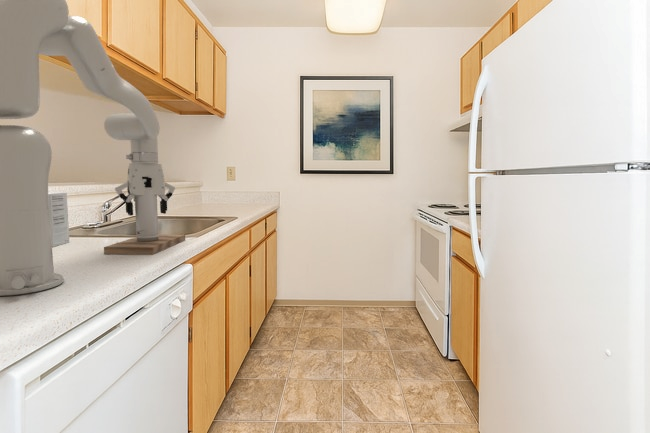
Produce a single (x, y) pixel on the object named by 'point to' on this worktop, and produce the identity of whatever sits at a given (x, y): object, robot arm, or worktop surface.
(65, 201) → the supplement box
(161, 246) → the walnut board
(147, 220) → the travel mug
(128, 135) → the robot arm
